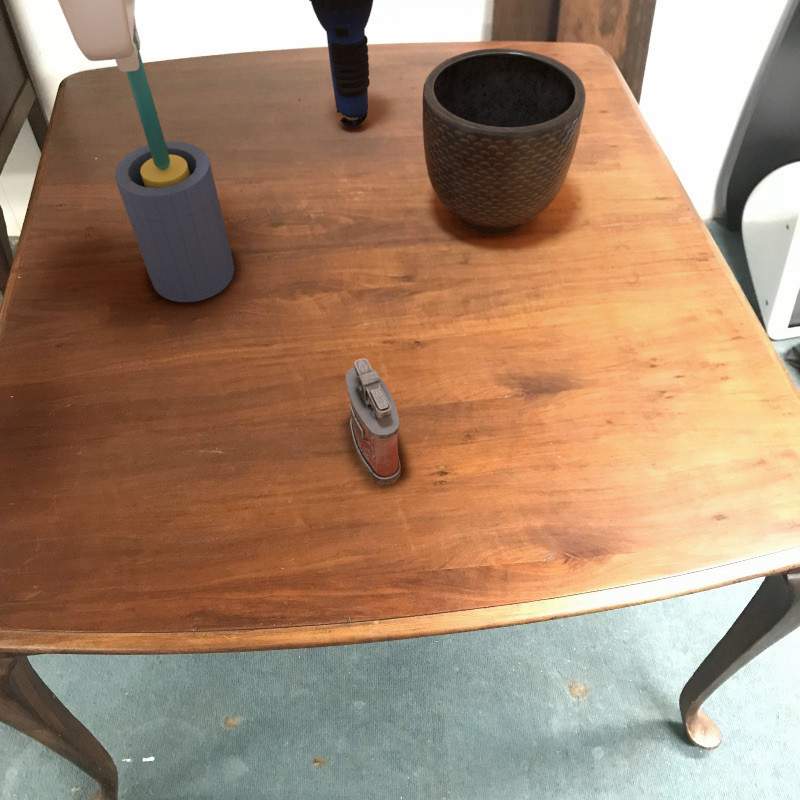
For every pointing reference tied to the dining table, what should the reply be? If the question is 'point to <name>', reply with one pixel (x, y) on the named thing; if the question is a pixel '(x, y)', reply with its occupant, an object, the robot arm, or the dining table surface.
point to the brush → (154, 136)
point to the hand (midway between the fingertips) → (130, 59)
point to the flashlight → (347, 54)
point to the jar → (178, 226)
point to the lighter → (373, 422)
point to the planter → (500, 134)
